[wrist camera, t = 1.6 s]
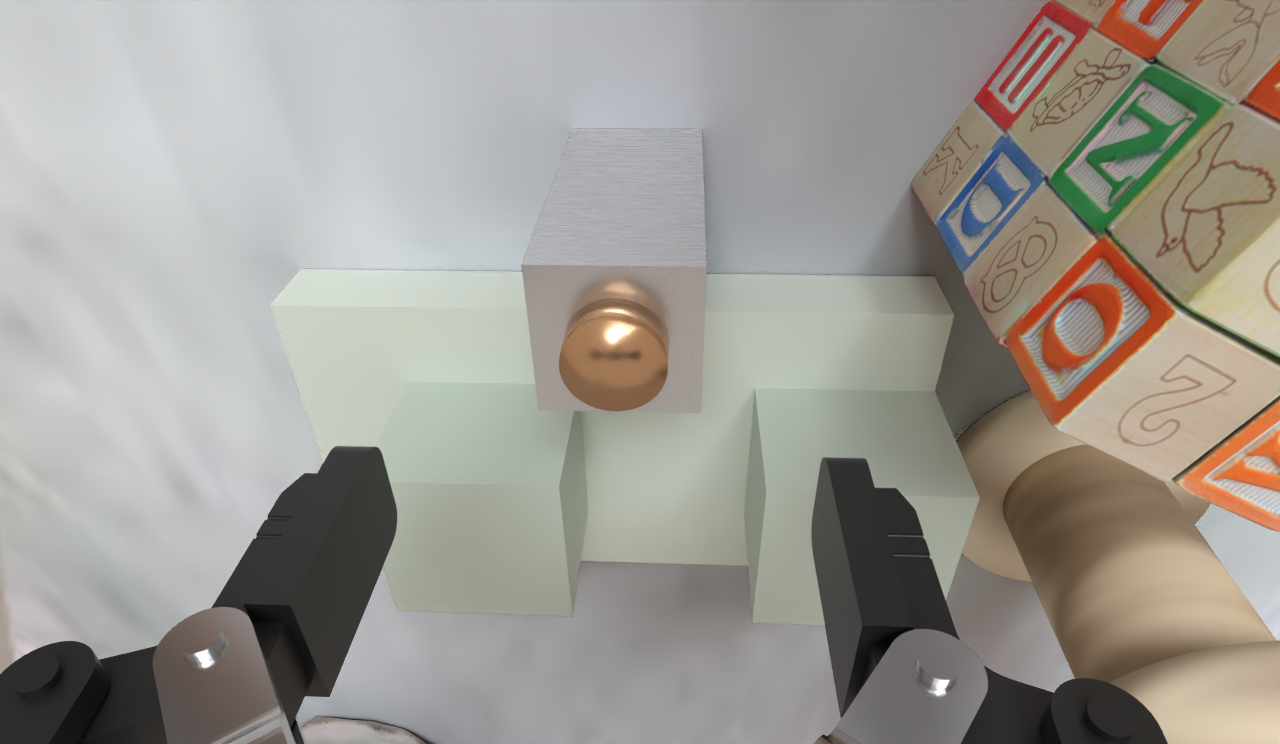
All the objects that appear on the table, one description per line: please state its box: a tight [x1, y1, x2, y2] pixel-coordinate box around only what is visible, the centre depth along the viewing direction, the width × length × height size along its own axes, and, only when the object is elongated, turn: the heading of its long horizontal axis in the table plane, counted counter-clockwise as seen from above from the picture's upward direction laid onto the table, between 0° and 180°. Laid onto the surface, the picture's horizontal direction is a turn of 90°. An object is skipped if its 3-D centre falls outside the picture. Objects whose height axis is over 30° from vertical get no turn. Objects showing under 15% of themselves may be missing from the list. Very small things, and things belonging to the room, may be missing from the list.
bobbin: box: [957, 390, 1280, 744], centre depth 26 cm, size 10×10×12 cm
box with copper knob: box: [522, 129, 707, 413], centre depth 21 cm, size 4×4×10 cm
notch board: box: [270, 269, 980, 626], centre depth 27 cm, size 12×22×8 cm, turn 91°
